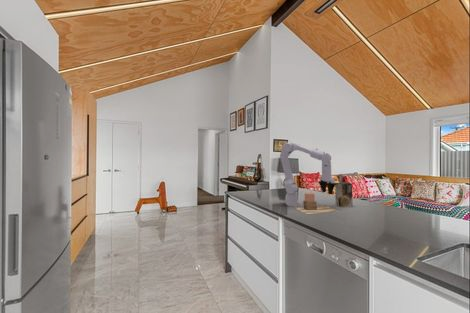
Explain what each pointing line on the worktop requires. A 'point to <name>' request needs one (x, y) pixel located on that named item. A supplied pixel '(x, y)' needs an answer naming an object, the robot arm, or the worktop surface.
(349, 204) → the coffee box
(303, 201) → the slab high
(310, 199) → the block
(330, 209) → the board
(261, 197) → the worktop surface
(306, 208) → the slab low
